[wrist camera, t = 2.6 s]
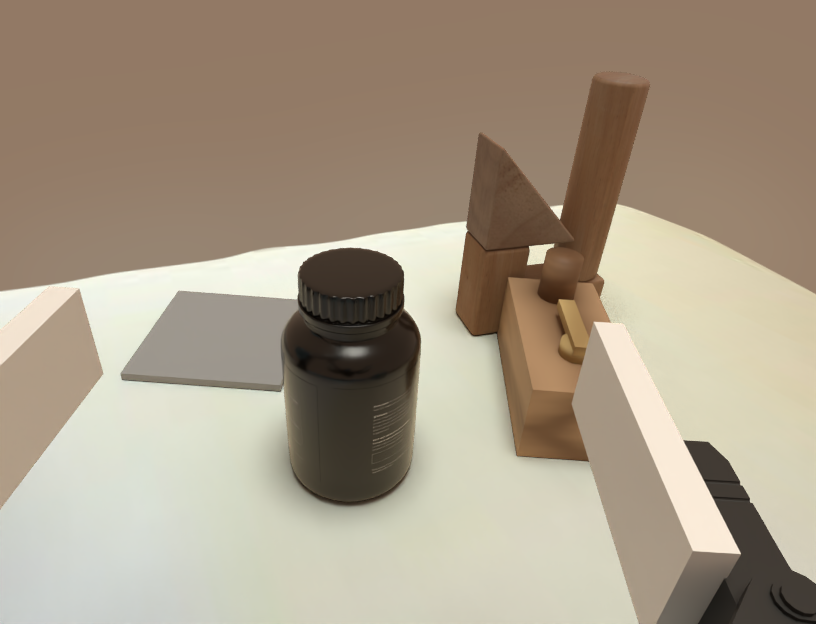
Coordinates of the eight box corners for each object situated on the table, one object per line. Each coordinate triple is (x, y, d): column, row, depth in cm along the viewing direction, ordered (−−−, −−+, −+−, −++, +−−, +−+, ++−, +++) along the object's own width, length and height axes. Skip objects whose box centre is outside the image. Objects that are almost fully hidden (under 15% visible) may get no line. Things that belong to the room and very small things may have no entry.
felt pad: (122, 379, 37) (120, 373, 36) (179, 296, 45) (178, 290, 45) (280, 391, 37) (280, 385, 37) (308, 305, 45) (308, 300, 45)
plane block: (516, 455, 34) (543, 344, 29) (497, 334, 44) (515, 238, 39) (620, 463, 34) (662, 353, 29) (576, 340, 44) (603, 245, 39)
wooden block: (453, 311, 46) (485, 69, 36) (570, 296, 49) (629, 70, 39) (472, 338, 43) (512, 83, 33) (595, 319, 46) (665, 82, 37)
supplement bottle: (395, 408, 36) (408, 233, 30) (425, 495, 31) (450, 305, 24) (283, 422, 35) (270, 240, 28) (294, 518, 29) (282, 319, 23)
